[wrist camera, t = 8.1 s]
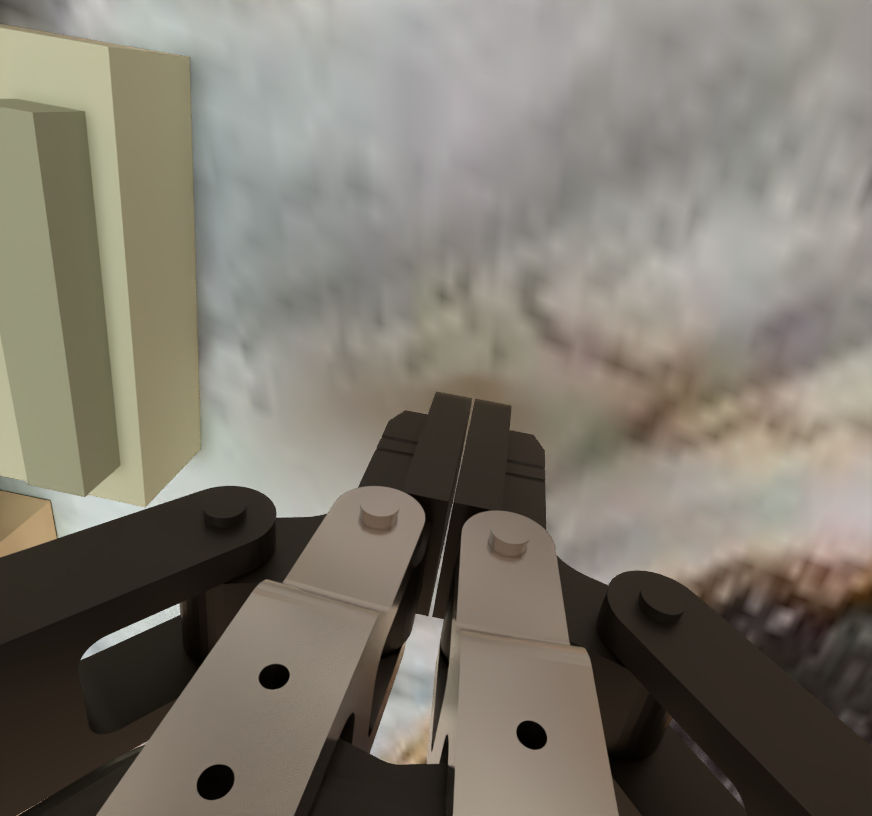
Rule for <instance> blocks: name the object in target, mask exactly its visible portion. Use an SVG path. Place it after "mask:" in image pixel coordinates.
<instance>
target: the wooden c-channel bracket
mask: <svg viewBox="0 0 872 816" xmlns="http://www.w3.org/2000/svg"><path fill="white" fill-rule="evenodd" d="M55 539H57V537H56V531H55V526H54V520H53V515H52V509H51V504H50V501H48V500H43V499H38V498H34V497H29V496H24V495H19V494H15V493H10V492H5V491H0V557H3V556H6V555H9V554H12V553H15V552H18V551H21V550H24V549H27V548H31V547H34V546H37V545H40V544H43V543H46V542H49V541H52V540H55Z"/></svg>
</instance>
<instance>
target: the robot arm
mask: <svg viewBox="0 0 872 816" xmlns="http://www.w3.org/2000/svg"><path fill="white" fill-rule="evenodd" d="M471 402H472V398H467V397H462V396H457V395H452V394H446V393H441V392H436V393H435V396H434V399H433V402H432V405H431V407H430V410H429V413H428V415H427V414H421V413H416V412H411V411H406V410H405V411H404V412H402V413H400V414H399V415H397V416H396V417H394V418H393V419H391V420H389V422H388V424H387V426H386V429H385V431H384V433H383V435H382V438H381V439H380V441H379V444H378V446H377V450H375V452H374V454H373V457H372V459H371V461H370V463H369V465H368V467H367V469H366V472H365V474H364V476H363V478H362V480H361V482H360V484H359V487H358V488H356V489H353V490H350V491H348V492H346V493H344V494H343V495H341V496H340V497H339V498H338V499H337V500H336V501H335V503H334V504H333V506H332V507H331V509H330V510H329V512H328V514H324V515H320V516H314V517H294V518H276V508H275V506H274V504H273V502H272V501H271V500H270V499H269V498H268V497H267V496H266V495H264V494H262V493H260V492H259V491H256V490H253V489H250V488H246V487H239V486H221V487H214V488H209V489H206V490H202V491H199V492H196V493H193V494H190V495H187V496H184V497H181V498H178V499H175V500H172V501H169V502H166V503H163V504H160V505H157V506H154V507H151V508H148V509H145V510H142V511H139V512H136V513H133V514H130V515H127V516H124V517H121V518H118V519H115V520H112V521H109V522H106V523H103V524H100V525H97V526H94V527H91V528H88V529H85V530H82V531H79V532H76V533H73V534H70V535H67V536H64V537H61V538H58V539H55V540H52V541H49V542H46V543H43V544H40V545H37V546H34V547H31V548H27V549H24V550H21V551H18V552H15V553H12V554H9V555H6V556H3V557H0V816H16V815H18V814H20V813H21V812H23V811H25V810H27V809H28V810H27V811H25V812H23V813H22V814H20V815H19V816H872V747H871V746H870V745H869V744H868V743H867V742H866V741H864V740H863V739H862V738H861V737H860V736H859V735H857V734H856V733H855V732H854V731H853V730H852V729H851V728H849V727H848V726H847V725H846V724H845V723H844V722H842V721H841V720H840V719H839V718H838V717H837V716H835V715H834V714H833V713H832V712H831V711H830V710H828V709H827V708H826V707H825V706H824V705H823V704H822V703H820V702H819V701H818V700H817V699H816V698H815V697H813V696H812V695H811V694H810V693H809V692H808V691H806V690H805V689H804V688H803V687H802V686H801V685H800V684H798V683H797V682H796V681H795V680H794V679H793V678H791V677H790V676H789V675H788V674H787V673H786V672H784V671H783V670H782V669H781V668H780V667H779V666H778V665H776V664H775V663H774V662H773V661H772V660H771V659H769V658H768V657H767V656H766V655H765V654H764V653H762V652H761V651H760V650H759V649H758V648H757V647H755V646H754V645H753V644H752V643H751V642H750V641H749V640H747V639H746V638H745V637H744V636H743V635H742V634H740V633H739V632H738V631H737V630H736V629H735V628H733V627H732V626H731V625H730V624H729V623H728V622H727V621H725V620H724V619H723V618H722V617H721V616H720V615H718V614H717V613H716V612H715V611H714V610H713V609H711V608H710V607H709V606H708V605H707V604H706V603H704V602H703V601H702V600H701V599H700V598H699V597H698V596H696V595H695V594H694V593H693V592H692V591H690V590H689V589H688V588H686V587H685V586H683V585H682V584H680V583H678V582H677V581H675V580H673V579H671V578H668V577H666V576H663V575H660V574H657V573H653V572H648V571H628V572H624V573H621V574H619V575H617V576H616V577H614V578H613V579H612V580H611V582H610V583H609V586H608V585H606V584H603V583H601V582H599V581H597V580H594V579H592V578H590V577H588V576H586V575H584V574H582V573H580V572H578V571H576V570H574V569H573V568H571V567H570V566H568V565H567V564H566V563H565V562H563V561H562V560H561V559H560V558H559V557H558V556H557V555H556V549H555V545H554V541H553V540H552V538H551V536H550V535H549V533H548V532H547V531H546V500H545V470H544V469H545V451H544V449H543V448H542V446H541V445H540V443H539V442H538V440H537V439H536V438H535V436H534V435H531V434H526V433H521V432H515V431H510V430H509V428H510V417H511V406H510V405H505V404H500V403H494V402H489V401H484V400H479V399H475V403H474V408H473V412H472V417H471V422H470V426H469V431H468V436H467V441H466V445H465V450H464V455H463V460H462V464H461V469H460V474H459V478H458V473H459V468H460V463H461V457H462V452H463V446H464V441H465V435H466V430H467V424H468V419H469V414H470V408H471ZM457 478H458V483H457ZM456 484H457V488H456ZM455 489H456V493H455ZM454 493H455V497H454ZM453 498H454V502H453ZM452 503H453V508H452ZM451 508H452V513H451V518H450V524H449V529H448V535H447V540H446V546H445V551H444V556H443V562H442V567H441V573H440V578H439V584H438V589H437V594H436V600H435V605H434V611H433V616H432V617H436V618H441V619H444V622H443V628H442V633H441V639H440V644H439V649H438V655H437V660H436V667H435V678H434V689H433V701H432V712H431V723H430V734H429V745H428V756H427V764H410V765H396V764H390V763H387V762H385V761H382V760H380V759H378V758H376V757H375V756H373V755H371V754H369V753H370V750H371V747H372V745H373V742H374V739H375V736H376V733H377V730H378V727H379V724H380V721H381V718H382V715H383V712H384V709H385V707H386V704H387V701H388V698H389V695H390V692H391V689H392V686H393V683H394V680H395V677H396V674H397V672H398V669H399V666H400V663H401V660H402V657H403V653H404V649H405V643H406V640H407V639H408V637H409V636H410V633H411V630H412V626H413V622H414V618H415V614H421V615H426V616H428V615H429V611H430V606H431V601H432V597H433V592H434V587H435V582H436V578H437V573H438V568H439V564H440V559H441V554H442V550H443V545H444V540H445V536H446V531H447V526H448V522H449V517H450V512H451ZM178 603H180V614H181V615H179V616H177V617H175V618H173V619H170V620H168V621H166V622H164V623H162V624H160V625H157V626H155V627H153V628H151V629H149V630H146V631H144V632H142V633H140V634H138V635H135V636H133V637H131V638H129V639H127V640H125V641H122V642H120V643H118V644H116V645H114V646H111V647H109V648H107V649H105V650H103V651H100V652H98V653H96V654H94V655H92V656H90V657H87V658H85V659H82V660H80V659H81V658H82V656H83V654H84V653H85V652H86V651H87V649H88V648H89V647H90V646H92V645H93V644H94V643H95V642H96V641H98V640H100V639H101V638H103V637H105V636H107V635H109V634H111V633H113V632H115V631H118V630H120V629H122V628H124V627H127V626H129V625H131V624H133V623H136V622H138V621H140V620H142V619H145V618H147V617H149V616H151V615H154V614H156V613H158V612H160V611H163V610H165V609H167V608H169V607H172V606H174V605H176V604H178ZM672 717H673V718H674V720H675V721H676V722H677V723H678V724H679V725H680V726H681V727H682V728H683V729H684V730H685V732H686V733H687V734H688V735H689V736H690V737H691V738H692V739H693V740H694V741H695V742H696V743H697V745H698V746H699V747H700V748H701V749H702V750H703V751H704V752H705V753H706V754H707V755H708V756H709V758H710V759H711V760H712V761H713V762H714V763H715V764H716V765H717V766H718V767H719V768H720V769H721V771H722V772H723V773H724V774H725V775H726V776H727V777H728V778H729V779H730V781H731V782H732V783H733V784H734V786H735V787H736V789H737V790H738V792H739V794H740V796H741V798H742V800H743V803H744V806H745V809H746V810H745V809H744V807H743V806H742V805H741V804H740V803H739V802H738V801H737V800H736V799H735V797H734V796H733V795H732V794H731V793H730V792H729V791H728V790H727V789H726V788H725V786H724V785H723V784H722V783H721V782H720V781H719V780H718V779H717V778H716V777H715V775H714V774H713V773H712V772H711V771H710V770H709V769H708V768H707V767H706V766H705V764H704V763H703V762H702V761H701V760H700V759H699V758H698V757H697V756H696V754H695V753H694V752H693V751H692V750H691V749H690V748H689V747H688V746H687V745H686V743H685V742H684V741H683V740H682V739H681V738H680V737H679V736H678V735H677V734H676V732H675V731H674V730H673V729H672V728H671V727H670V726H669V724H670V721H671V719H672ZM148 740H149V741H148ZM146 741H148V742H147V743H146V745H143V746H141V747H138V748H135V747H137V746H139V745H141V744H142V743H144V742H146ZM134 748H135V749H134ZM132 749H133V750H132ZM130 750H131V751H130ZM128 751H129V752H128ZM46 798H47V799H46ZM44 799H45V800H44ZM41 801H42V802H41ZM39 802H40V803H39ZM37 803H38V804H37ZM36 804H37V805H36ZM34 805H35V806H34ZM32 806H33V807H32ZM30 807H32V808H30ZM29 808H30V809H29Z"/></svg>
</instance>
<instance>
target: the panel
mask: <svg viewBox="0 0 872 816" xmlns="http://www.w3.org/2000/svg"><path fill="white" fill-rule="evenodd" d="M200 449H201V429H200V395H199V360H198V326H197V292H196V257H195V223H194V188H193V154H192V119H191V85H190V57H187V56H181V55H175V54H169V53H164V52H158V51H152V50H147V49H141V48H135V47H129V46H124V45H118V44H112V43H107V42H101V41H95V40H90V39H84V38H78V37H72V36H67V35H61V34H55V33H50V32H44V31H38V30H33V29H27V28H21V27H15V26H10V25H4V24H0V476H5V477H9V478H14V479H18V480H23V481H28V485H32V486H37V487H41V488H46V489H50V490H55V491H60V492H64V493H69V494H73V495H78V496H82V497H85V496H87V495H92V496H96V497H101V498H106V499H110V500H115V501H119V502H124V503H128V504H133V505H138V506H142V507H146V506H147V505H148V504H149V503H150V502H151V501H152V500H153V499H154V498H155V497H156V496H157V495H158V494H159V493H160V491H161V490H162V489H163V488H164V487H165V486H166V485H167V484H168V483H169V482H170V481H171V480H172V479H173V478H174V477H175V476H176V475H177V474H178V473H179V472H180V470H181V469H182V468H183V467H184V466H185V465H186V464H187V463H188V462H189V461H190V460H191V459H192V458H193V457H194V456H195V455H196V454H197V453H198V452H199V451H200Z"/></svg>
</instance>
